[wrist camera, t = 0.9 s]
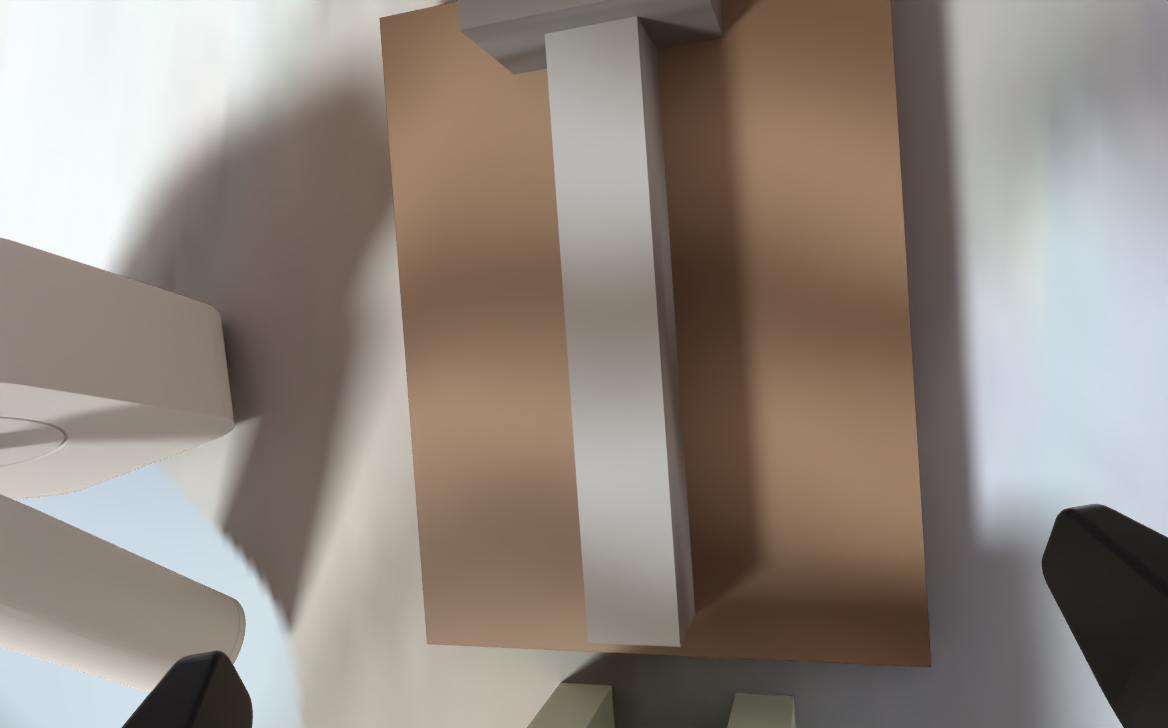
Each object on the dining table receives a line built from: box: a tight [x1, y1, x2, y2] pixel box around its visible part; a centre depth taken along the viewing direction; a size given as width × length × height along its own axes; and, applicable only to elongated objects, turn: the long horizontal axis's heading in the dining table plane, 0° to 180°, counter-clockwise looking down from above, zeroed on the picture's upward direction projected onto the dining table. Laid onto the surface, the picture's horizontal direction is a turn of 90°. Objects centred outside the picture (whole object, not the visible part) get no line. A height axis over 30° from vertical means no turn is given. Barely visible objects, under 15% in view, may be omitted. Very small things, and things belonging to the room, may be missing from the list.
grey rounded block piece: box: [0, 238, 246, 692], centre depth 21 cm, size 8×10×10 cm
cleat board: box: [380, 0, 931, 667], centre depth 18 cm, size 16×12×4 cm
